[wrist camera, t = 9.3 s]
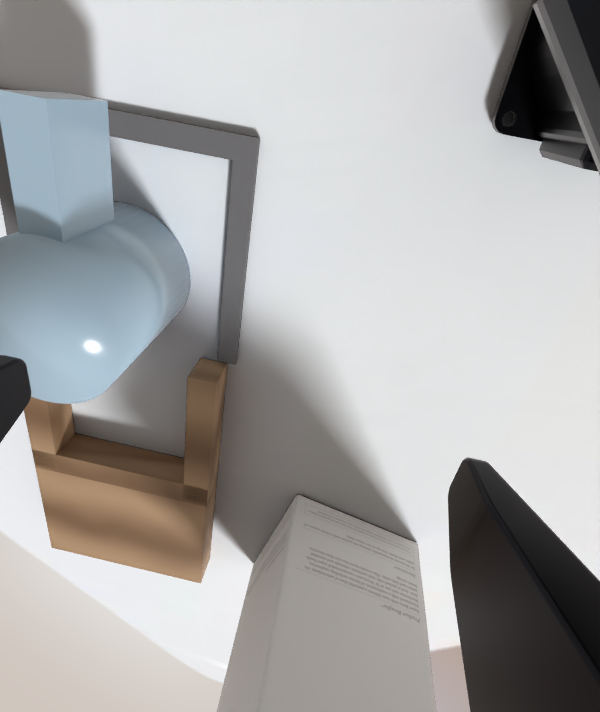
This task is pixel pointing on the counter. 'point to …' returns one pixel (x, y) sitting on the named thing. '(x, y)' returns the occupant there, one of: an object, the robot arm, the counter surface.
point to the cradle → (133, 485)
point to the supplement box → (331, 621)
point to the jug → (78, 252)
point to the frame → (240, 202)
